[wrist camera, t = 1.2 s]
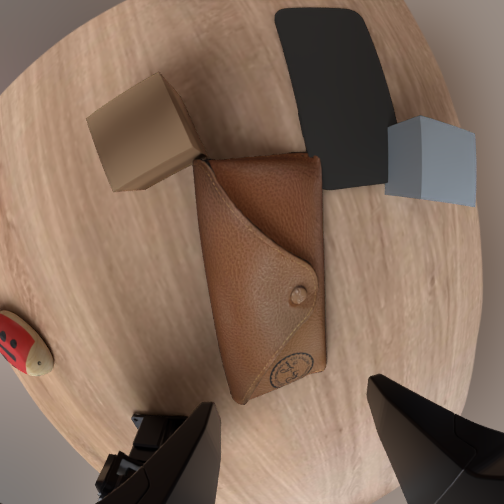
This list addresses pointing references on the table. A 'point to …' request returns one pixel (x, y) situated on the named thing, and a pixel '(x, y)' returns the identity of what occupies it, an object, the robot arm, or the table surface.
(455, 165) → the slate block
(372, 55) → the phone
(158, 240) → the table surface
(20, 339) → the ladybug figurine
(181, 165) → the walnut block
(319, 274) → the sunglasses case
